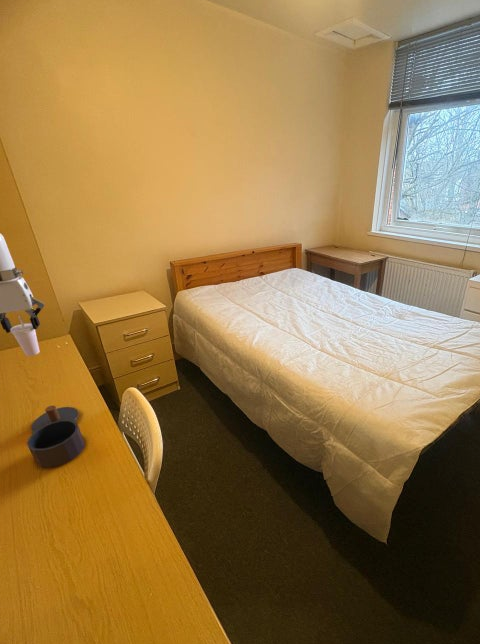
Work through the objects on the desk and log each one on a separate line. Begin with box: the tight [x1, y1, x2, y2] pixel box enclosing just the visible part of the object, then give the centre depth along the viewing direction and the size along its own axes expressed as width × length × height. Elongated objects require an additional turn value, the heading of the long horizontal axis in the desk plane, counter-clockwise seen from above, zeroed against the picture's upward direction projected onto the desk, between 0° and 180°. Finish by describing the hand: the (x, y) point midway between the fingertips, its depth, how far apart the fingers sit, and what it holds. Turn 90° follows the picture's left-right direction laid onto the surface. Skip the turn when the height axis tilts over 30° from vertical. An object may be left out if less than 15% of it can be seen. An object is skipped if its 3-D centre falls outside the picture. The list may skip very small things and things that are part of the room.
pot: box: [26, 420, 86, 469], centre depth 88 cm, size 11×11×6 cm
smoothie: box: [10, 314, 41, 357], centre depth 104 cm, size 6×6×14 cm
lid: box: [30, 404, 80, 434], centre depth 98 cm, size 12×12×6 cm
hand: (23, 328), depth 103 cm, fingers closed on smoothie, 6 cm apart
